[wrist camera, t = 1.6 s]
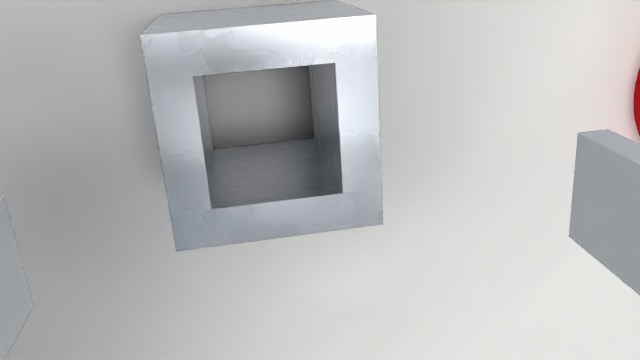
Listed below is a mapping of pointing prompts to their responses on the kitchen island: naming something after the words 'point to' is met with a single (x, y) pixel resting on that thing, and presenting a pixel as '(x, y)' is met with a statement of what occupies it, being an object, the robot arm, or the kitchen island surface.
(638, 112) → the decorative ornament
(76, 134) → the kitchen island surface
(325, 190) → the hollow square tube
